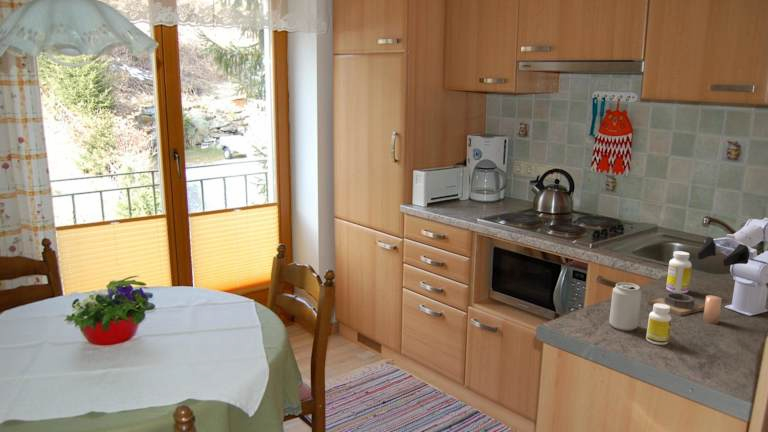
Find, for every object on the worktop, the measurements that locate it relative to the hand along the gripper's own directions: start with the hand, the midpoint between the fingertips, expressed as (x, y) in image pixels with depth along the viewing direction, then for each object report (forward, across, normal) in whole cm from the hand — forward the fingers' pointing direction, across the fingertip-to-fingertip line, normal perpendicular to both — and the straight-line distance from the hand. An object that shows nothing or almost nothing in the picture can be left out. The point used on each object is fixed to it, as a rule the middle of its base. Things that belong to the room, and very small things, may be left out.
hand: (711, 259), depth 179 cm
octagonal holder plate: (+1, -11, +19) cm, 22 cm away
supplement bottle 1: (+29, +3, +11) cm, 31 cm away
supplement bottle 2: (-12, -21, +23) cm, 33 cm away
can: (+29, -8, +11) cm, 32 cm away
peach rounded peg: (+3, 0, +18) cm, 19 cm away
